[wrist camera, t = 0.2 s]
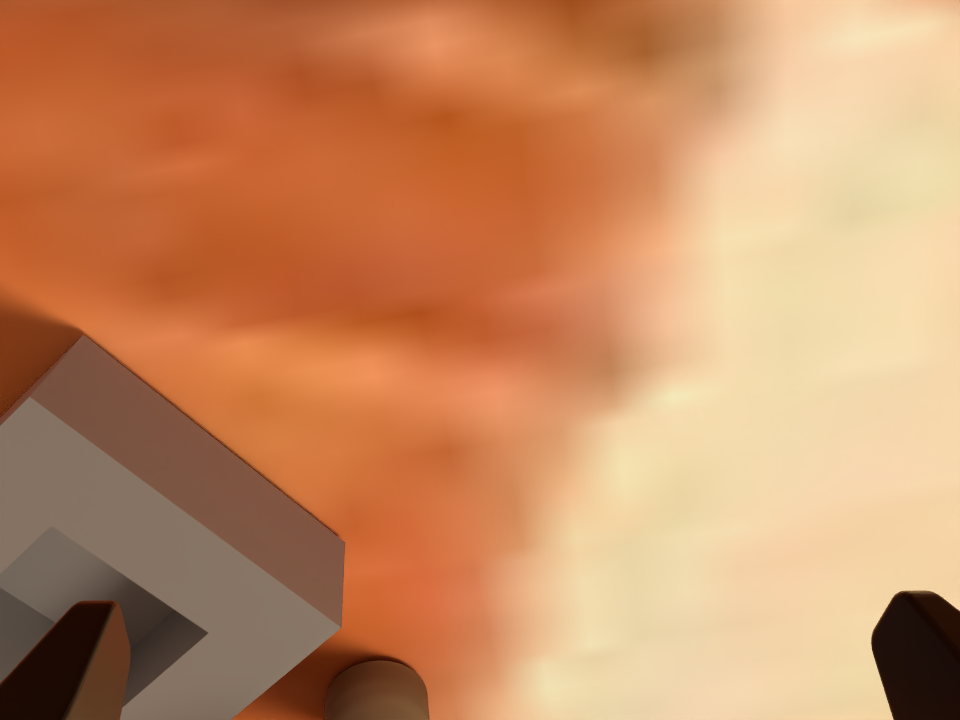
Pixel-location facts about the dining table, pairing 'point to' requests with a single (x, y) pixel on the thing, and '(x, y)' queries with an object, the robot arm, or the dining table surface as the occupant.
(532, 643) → the dining table surface
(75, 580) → the socket block
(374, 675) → the peg
